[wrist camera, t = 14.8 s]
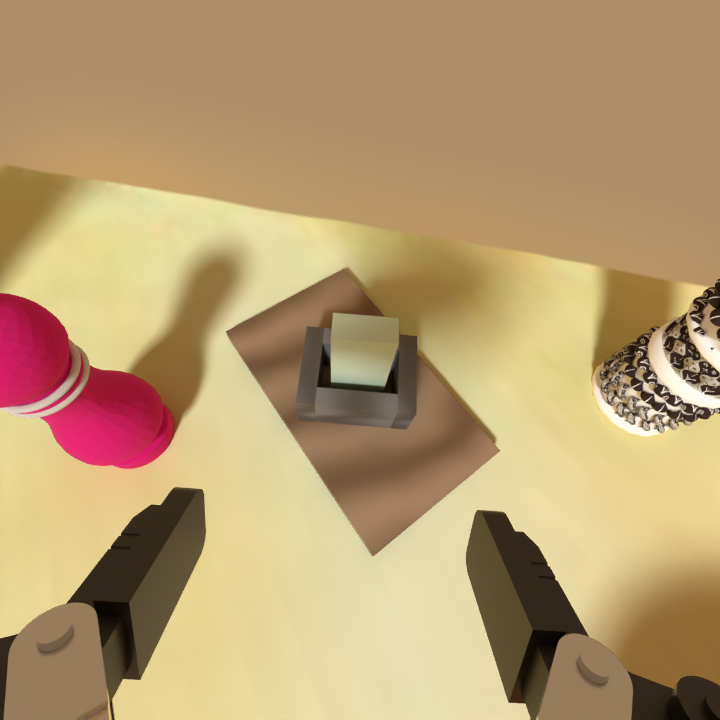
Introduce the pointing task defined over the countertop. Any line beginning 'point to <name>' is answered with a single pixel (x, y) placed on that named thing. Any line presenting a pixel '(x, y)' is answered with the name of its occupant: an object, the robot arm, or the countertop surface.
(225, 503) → the countertop surface
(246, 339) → the brown piece
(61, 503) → the countertop surface
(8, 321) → the pepper mill
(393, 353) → the slat
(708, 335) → the decorative candle
